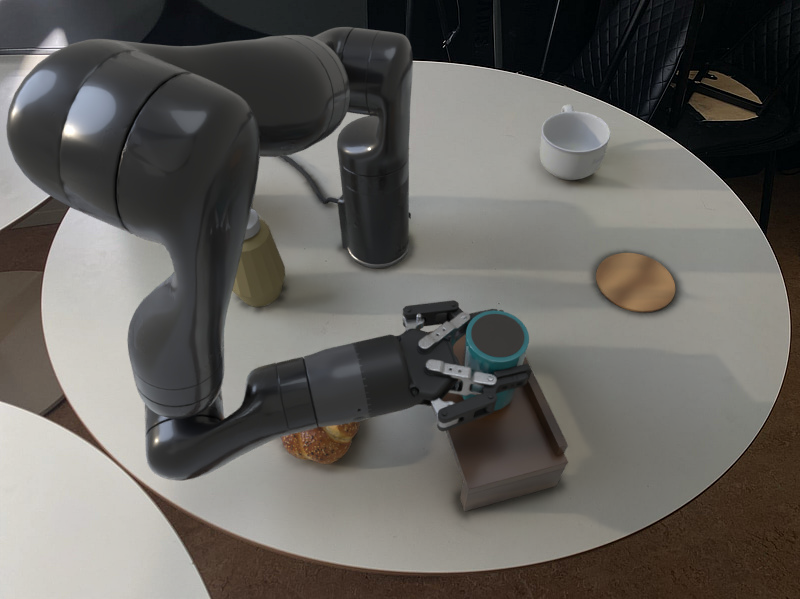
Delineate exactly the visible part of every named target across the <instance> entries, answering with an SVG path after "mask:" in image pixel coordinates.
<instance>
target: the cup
mask: <svg viewBox="0 0 800 599" xmlns="http://www.w3.org/2000/svg"><path fill="white" fill-rule="evenodd" d="M503 311H504V310H503ZM503 311H500V310H498V311H486V312H483V313H480V314H478V315H477V316H475V317H474V318H473V319H472V320H471V321H470V323H469V324H468V326H467V330H466V336H465V343H464V350H463V357H462V364H461V366H465V367H470V368H472V369H473V370H474V371H477V372H483V373H489V374H493V375H494V371H498V370H502V369H508V368H511V367H515V366H519V365H523V361H524V358H525V356H526V355H527V351H528V348H529V343H530V335H529V331H528V328H527V326H526V325H525V324H524V322H522V320H521V319H520V318H519V317H518V316H516V315H514V314H512V313H509V312H506V311H504V312H503ZM459 381H462V380H460V379H459ZM515 389H516V388H515ZM515 389H511V390H507V391H503V392H499V393H497V394H496V395H497V401H496V405H495V409H494V411H496V410H499V409H501V408H503V407H505V406H506V405H508V404H509V402H510V401H511V400H512V398H513V396H514V392H515ZM461 396H462V397H463V399H464V400H466V399H469V398H471V397H474V396H477V395H473V394H469V395H467V396H465V395H461Z"/></svg>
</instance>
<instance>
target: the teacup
mask: <svg viewBox="0 0 800 599" xmlns="http://www.w3.org/2000/svg"><path fill="white" fill-rule="evenodd" d="M560 110H561V111H560V112H557V113H555V114H553V115H550V116H549V117H548V118H546V119H545V120H544V122H543V123H542V126H541V136H540V145H539V160H540V162H541V165H542V167H543V168H544V169H545V170H546V171H547V172H548V173H549V174H551V175H553V176H554V177H556V178H558V179H561V180H565V181H576V180H581V179H584V178H587V177H589V176H591V175H593V174H595V172H597V171H598V170H599V168H600V166H601V165H602V163H603V161H604V159H605V158H604V157H605V154H606V151H607V147H608V144H609V141H610V140H611V135H612V132H611V128H610V126H609V124H608V123H607V122H606V121H605V120H604V119H602V118H601V117H599V116H598V115H595V114H592V113H590V112H586V111H579V110H578V111H577V110H574V106H573V105H572V104H564V105H563V106H562V108H561V109H560Z"/></svg>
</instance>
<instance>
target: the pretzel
mask: <svg viewBox="0 0 800 599" xmlns="http://www.w3.org/2000/svg"><path fill="white" fill-rule="evenodd" d="M360 422H361V421H359V422H351V423H347V424H342V425H334V426H325V427H319V426H318V428H316V429H312V430H308V431H303V432H299V433H295V434H291V435H287V436H283V437H280V438H281V442H282V446H283V448H284V449H285V451H286V452H287V453H288V454H290V455H291V456H292V457H295V458H298V459H300V460H303V461H307V460H308V461H309V460H312V461H314V462H316V463H318V464H322V465H330V464H333V463H334V462H338V460H340V459H341V458H342V457H344V456H345V455H346V454H347V452H348V451H349V449H350V447H351V445H352V440H353V438H354V437H355V436H356V435H357V433H358V432H359V428H360V425H361V423H360Z"/></svg>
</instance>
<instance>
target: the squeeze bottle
mask: <svg viewBox="0 0 800 599" xmlns="http://www.w3.org/2000/svg"><path fill="white" fill-rule="evenodd" d="M285 278H286V268H285V263H284V262H283V259H282V256H281V254H280V251H279V249H278V246H277V244H276V241H275V239H274V236H273V233H272V231H271V229H270V227H269V225H268V224H267V222H266V221H265V220H263V219H261V218H260V216H259V213H258V212H257V211H256V210H255V209H254V208H251V212H250V217H249V221H248V226H247V230H246V234H245V239H244V244H243V248H242V253H241V257H240V262H239V266H238V270H237V274H236V278H235V282H234V286H233V290H232V293H234V295H236V296H237V297H238V298H239V299H240V300H241V301H242V302H243V303H245V304H246V305H248V306H249V307H255V308H259V307H266V306H268V305H271V304H272V303H275V301H276V300H278V299H279V297H280V295H281V293H282V290H283V286H284V283H285Z"/></svg>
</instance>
